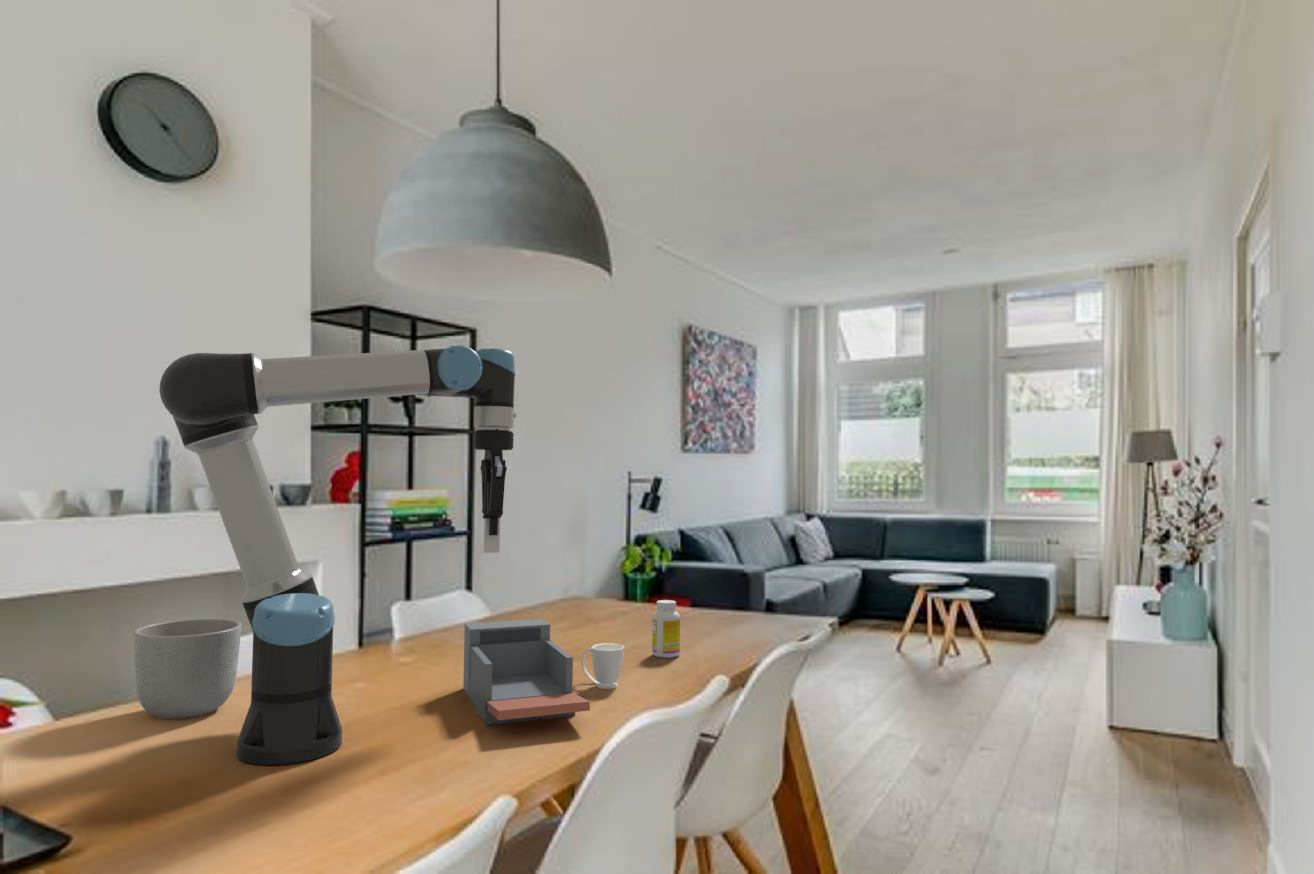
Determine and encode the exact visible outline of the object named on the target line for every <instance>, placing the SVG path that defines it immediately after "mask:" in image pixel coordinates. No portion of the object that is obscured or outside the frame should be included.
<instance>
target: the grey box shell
mask: <svg viewBox="0 0 1314 874" xmlns="http://www.w3.org/2000/svg"><path fill="white" fill-rule="evenodd" d="M463 634H464V639H463V640H464V641H463V645H464V646H463V650H464V651H463V685H462V686H463V688H462V689H463V690H464V692H465V694H466V695H467V696H468V698H469V673H470V645H482V644H496V643H510V642H524V641H538V640H551V624H550V623H549V622H547V621H546V620H545V619H543V618H534V619H531V618H530V619H518V620H517V619H516V620H501V621H500V620H499V621H486V622H483V621H482V622H467V623H464V633H463Z"/></svg>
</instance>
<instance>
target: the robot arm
mask: <svg viewBox="0 0 1314 874" xmlns="http://www.w3.org/2000/svg"><path fill="white" fill-rule="evenodd" d="M515 369H516V368H515V356H514V353H513V352H512V351H510V350H508V349H504V348H503V349H502V348H480V349H477V350H476V351H475V350H474V349H472V348H471V347H469V346H465V345H461V344H460V345H459V344H458V345H450V346H449V347H446V348H435V349H433V348H432V349H425V350H424V349H417V350H415V349H414V350H397V351H381V352H379V351H378V352H365V353H364V352H363V353H349V354H348V353H347V354H346V353H345V354H331V355H311V356H310V355H309V356H295V357H291V356H290V357H277V358H261V357H260V356H258V355H257V354H256V353H255V352H251V353H249V352H247V353H214V352H213V353H212V352H195V353H189V354H187V355H183V356H180V357H179V358H177V359H176V360H174V361H173V362H171V364H169V365H168V366H167V367H166V369H165V370H164V371H163V374H162V375H161V378H160V381H159V391H158V392H159V395H160V399H161V402H162V404H163V406H164V408H165V409H166V410H167V411H168V413H169V414H170V415H171V416H172V418H173V420H174V423H175V425H176V428H177V430H178V434H179V436H180V439H181V441H182V442H181V443H182V444H183V447H184V449H187V450H188V451H190V452H192V453H194V454H196V455H197V456H198V458H199V461H200V462H201V466H202V468H203V471H204V474H205V477H206V479H207V482H208V484H209V487H210V488H209V489H210V490H211V493H212V496H213V499H214V500H215V504H216V506H217V509H218V511H219V515H220V518H221V520H222V522H223V526H224V528H225V531H226V534H227V536H228V539H229V542H230V544H231V547H232V549H233V553H234V555H235V558H236V561H237V562H238V565H239V568H240V571H241V573H242V577H243V580H244V583H245V585H246V590H245V593H244V594H243V596H242V598H241V603H242V605H243V609H244V611H245V614H246V617H247V619H248V622H249V626H250V627H251V631H252V656H251V657H252V659H251V662H252V663H251V692H250V693H251V694H250V695H251V696H250V697H251V698H250V705H249V708H248V710H247V713H246V716H245V719H244V722H243V724H242V726H241V729H240V733H239V735H238V737H237V742H236V757H237V758H238V759H239V760H240V761H242V762H245V763H247V764H253V765H262V766H274V765H275V766H279V765H288V764H289V765H290V764H297V763H302V762H303V763H304V762H307V761H312V760H316V759H318V758H322V757H324V756H326V755H330V754H331V753H333V752H335V751H336V750H338V749H339V748H340V747H341V746H342V743H343V727H342V724H341V721H340V717H339V714H338V712H337V708H336V705H335V703H334V702H335V701H334V699H333V696H332V695H333V694H332V693H333V692H332V690H333V688H332V685H333V684H332V682H333V650H334V643H333V642H334V625H335V619H336V617H335V613H334V605H333V602H332V601H331V600H330V599H329V598H328V597H325V596H323V595H319V591H318V588H317V584H316V583H315V580H314V577H313V575H312V574H311V573H310V572H307V571H305V570H303V569H301V568H300V566H299V564H298V561H297V558H296V555H295V553H294V549H293V547H292V544H291V541H290V538H289V536H288V533H287V530H286V528H285V525H284V522H283V519H282V515H281V514H280V511H279V508H278V506H277V502H276V499H275V497H274V495H273V494H274V493H273V492H272V488H271V487H270V482H269V480H268V478H267V475H266V472H265V469H264V466H263V464H262V461H261V459H260V455H259V453H258V450H257V448H256V445H255V442H254V441H255V440H254V437H255V434H256V433H257V431H258V429H259V425H258V421H257V418H256V416H255V415H260V414H262V413H263V412H264V411H265V410H266V409H267V408H269V407H280V406H281V407H283V406H290V405H303V404H314V403H315V404H316V403H328V402H329V403H330V402H340V401H342V402H343V401H353V400H362V399H375V398H376V399H377V398H378V399H379V398H389V397H398V396H399V397H400V396H410V395H416V396H425V397H429V398H431V397H445V398H448V397H449V398H451V397H452V398H466V399H468V398H470V399H471V398H473V399H474V406H473V427H474V428H476V430H474V431H473V448H474V450H475V451H476V450H477V451H479V450H480V451H484V457H483V459H481V460H480V461H481V465H480V467H479V468H480V474H481V503H482V504H481V505H482V507H481V508H482V509H481V513H482V514H483V515H482V519H483V520H484V521H483V523H484V524H483V526H484V527H483V553H484V554H486V553H487V554H493V553H500V540H501V539H500V537H501V536H500V535H501V534H500V533H501V532H500V531H501V518H502V516H503V514H504V511H503V510H504V498H505V484H506V475H507V474H506V473H507V469H508V468H507V466H506V459H504V458H503V457H504V455H503V451H512V450H513V449H514V437H515V436H514V435H515V434H514V432H513V431H512V430H511V429H513V428H514V419H515V418H517V413H515V412H514V407H515V406H514V405H515V404H514V403H515V398H514V397H515V380H516V377H515V376H516V371H515Z"/></svg>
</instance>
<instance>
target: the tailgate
mask: <svg viewBox="0 0 1314 874" xmlns="http://www.w3.org/2000/svg"><path fill="white" fill-rule="evenodd" d="M590 704H591V703H590V700H588V699H586V698H584V697H581V696H579V695H577V694H576V693H573V692H572V693H570V694H559V695H549V696H539V697H529V698H519V699H509V700H498V701H488V702H487V705H486V707H487V711H488V712H489V713H491V714H492V715H493V716H494V717H495V718H496V719H498V720H507V719H516V718H525V717H535V716H544V715H553V714H562V713H572V712H575V713H579V712H589V711H590V710H591V709H590V708H591V707H590V706H591V705H590Z"/></svg>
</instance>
